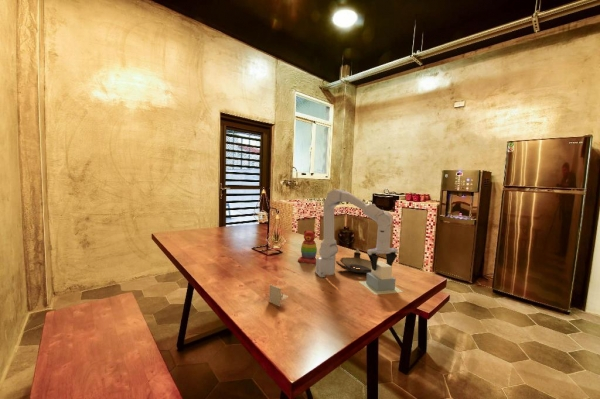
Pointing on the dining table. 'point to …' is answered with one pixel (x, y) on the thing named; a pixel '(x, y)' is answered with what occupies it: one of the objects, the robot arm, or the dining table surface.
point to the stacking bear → (308, 248)
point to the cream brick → (382, 270)
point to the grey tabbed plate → (276, 295)
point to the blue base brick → (380, 283)
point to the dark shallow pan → (356, 263)
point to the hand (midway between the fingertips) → (381, 269)
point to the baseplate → (380, 291)
